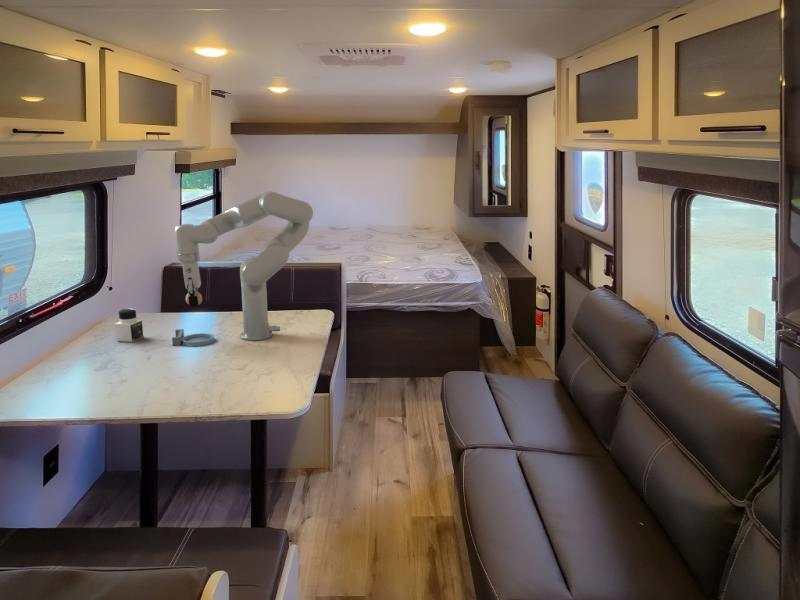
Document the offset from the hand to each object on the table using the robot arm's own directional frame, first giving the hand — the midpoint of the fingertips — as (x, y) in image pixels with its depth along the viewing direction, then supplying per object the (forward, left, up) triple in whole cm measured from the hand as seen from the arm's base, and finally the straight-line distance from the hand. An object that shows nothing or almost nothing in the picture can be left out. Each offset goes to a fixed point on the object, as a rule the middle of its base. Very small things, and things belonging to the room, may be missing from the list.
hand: (194, 304), depth 223 cm
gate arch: (+6, -3, -15) cm, 16 cm away
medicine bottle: (+26, -10, -15) cm, 31 cm away
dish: (0, 0, -15) cm, 15 cm away
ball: (0, 0, -1) cm, 1 cm away
